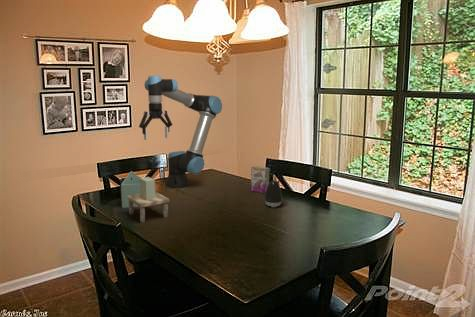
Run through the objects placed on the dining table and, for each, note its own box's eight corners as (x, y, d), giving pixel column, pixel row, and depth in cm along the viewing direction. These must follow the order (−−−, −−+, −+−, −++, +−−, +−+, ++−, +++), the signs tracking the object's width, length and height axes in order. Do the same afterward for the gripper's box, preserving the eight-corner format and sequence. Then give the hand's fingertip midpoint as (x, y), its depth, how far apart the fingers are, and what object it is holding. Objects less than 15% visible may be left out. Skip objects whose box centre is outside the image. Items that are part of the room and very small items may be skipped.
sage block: (149, 194, 219) (148, 176, 217) (155, 198, 213) (154, 180, 211) (140, 196, 216) (139, 178, 214) (146, 200, 210) (145, 181, 208)
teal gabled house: (132, 210, 225) (130, 175, 221) (121, 207, 229) (120, 173, 225) (152, 202, 239) (151, 169, 235) (142, 200, 243) (140, 168, 239)
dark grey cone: (285, 205, 235) (286, 180, 232) (274, 210, 228) (275, 183, 225) (271, 202, 242) (272, 177, 239) (260, 206, 234) (261, 180, 231)
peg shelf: (155, 208, 228) (154, 191, 226) (169, 217, 214) (169, 199, 212) (127, 213, 219) (126, 195, 217) (141, 223, 205) (140, 204, 203)
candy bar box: (250, 191, 264) (250, 166, 261) (254, 189, 268) (254, 165, 265) (265, 194, 258) (266, 169, 255) (269, 192, 262) (269, 167, 259)
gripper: (171, 101, 246) (172, 136, 250) (132, 103, 232) (133, 139, 236) (177, 102, 240) (178, 137, 245) (137, 103, 226) (139, 141, 230)
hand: (156, 138), depth 240 cm, fingers open, 13 cm apart
